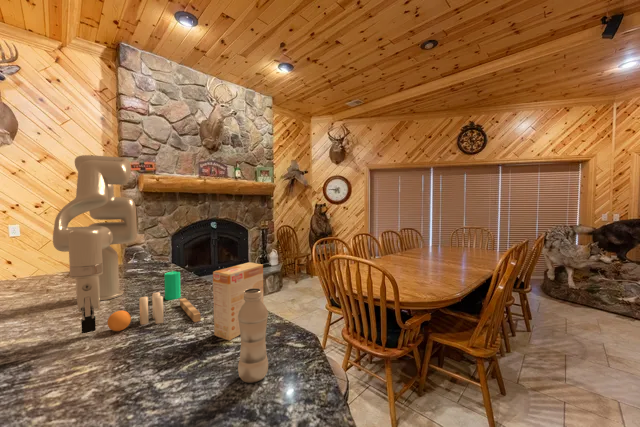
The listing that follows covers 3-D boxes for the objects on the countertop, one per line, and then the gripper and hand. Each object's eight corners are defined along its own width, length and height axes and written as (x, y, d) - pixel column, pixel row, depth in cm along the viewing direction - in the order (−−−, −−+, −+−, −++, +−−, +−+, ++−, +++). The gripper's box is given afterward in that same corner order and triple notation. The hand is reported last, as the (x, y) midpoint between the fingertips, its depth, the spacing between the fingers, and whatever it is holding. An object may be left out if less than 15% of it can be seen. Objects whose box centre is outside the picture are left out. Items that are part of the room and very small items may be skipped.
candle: (174, 300, 115) (173, 271, 114) (161, 299, 116) (160, 270, 115) (183, 295, 121) (183, 267, 120) (171, 294, 122) (171, 267, 121)
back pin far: (152, 317, 98) (151, 293, 97) (160, 315, 99) (159, 291, 99) (153, 319, 96) (152, 295, 95) (161, 317, 97) (160, 293, 97)
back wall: (179, 305, 109) (179, 299, 109) (185, 304, 110) (185, 297, 110) (194, 322, 93) (194, 314, 93) (200, 320, 95) (200, 313, 95)
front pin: (139, 322, 93) (138, 297, 93) (147, 320, 95) (147, 296, 94) (140, 325, 91) (139, 299, 91) (149, 323, 93) (148, 297, 92)
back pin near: (154, 322, 94) (154, 296, 93) (162, 320, 95) (162, 295, 95) (155, 324, 92) (155, 298, 92) (164, 322, 93) (163, 297, 93)
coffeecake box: (249, 317, 97) (248, 261, 96) (264, 322, 93) (264, 264, 93) (212, 335, 84) (211, 270, 83) (229, 341, 81) (228, 274, 80)
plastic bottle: (241, 370, 66) (239, 286, 66) (270, 368, 67) (269, 285, 66) (235, 388, 60) (233, 295, 59) (267, 386, 61) (266, 294, 60)
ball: (132, 307, 92) (131, 326, 92) (110, 309, 89) (108, 328, 89) (130, 312, 87) (128, 332, 86) (106, 314, 84) (104, 335, 84)
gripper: (103, 273, 80) (105, 336, 81) (102, 264, 91) (104, 319, 92) (67, 277, 75) (70, 345, 76) (71, 267, 87) (73, 326, 87)
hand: (88, 331), depth 84 cm, fingers closed
